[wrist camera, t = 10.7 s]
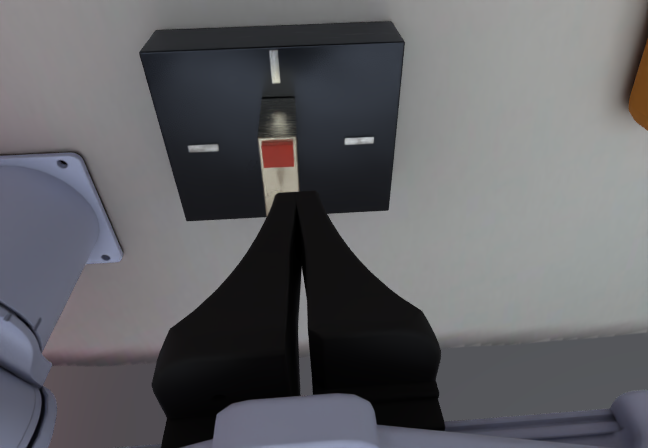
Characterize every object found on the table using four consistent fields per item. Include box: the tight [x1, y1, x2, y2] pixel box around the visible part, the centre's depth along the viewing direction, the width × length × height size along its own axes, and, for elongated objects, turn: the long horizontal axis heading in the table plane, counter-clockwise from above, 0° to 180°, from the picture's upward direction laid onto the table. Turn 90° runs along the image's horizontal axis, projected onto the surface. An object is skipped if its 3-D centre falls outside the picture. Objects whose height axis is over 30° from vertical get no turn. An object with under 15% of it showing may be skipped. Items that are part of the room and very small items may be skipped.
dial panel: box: [139, 21, 405, 221], centre depth 22 cm, size 11×9×3 cm
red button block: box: [257, 98, 300, 217], centre depth 20 cm, size 5×2×4 cm, turn 0°
